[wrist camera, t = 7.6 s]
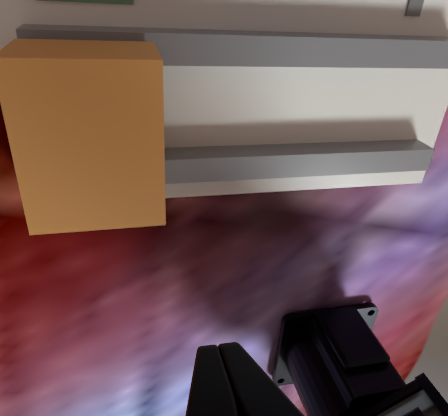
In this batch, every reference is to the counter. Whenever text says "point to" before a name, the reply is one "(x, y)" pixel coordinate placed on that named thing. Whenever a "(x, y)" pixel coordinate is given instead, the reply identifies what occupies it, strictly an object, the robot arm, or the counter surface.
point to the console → (276, 85)
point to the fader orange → (85, 132)
